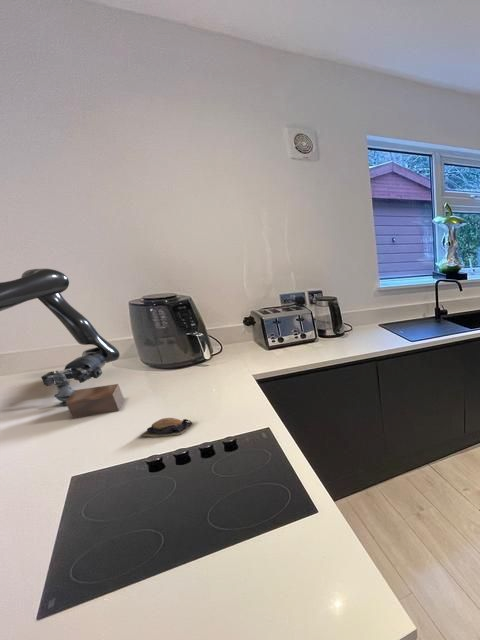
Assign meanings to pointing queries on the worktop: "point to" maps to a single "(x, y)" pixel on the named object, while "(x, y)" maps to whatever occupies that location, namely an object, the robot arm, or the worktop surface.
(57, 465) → the worktop surface
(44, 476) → the worktop surface
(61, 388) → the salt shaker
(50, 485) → the worktop surface
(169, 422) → the turtle figurine
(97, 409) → the brown rectangular block
